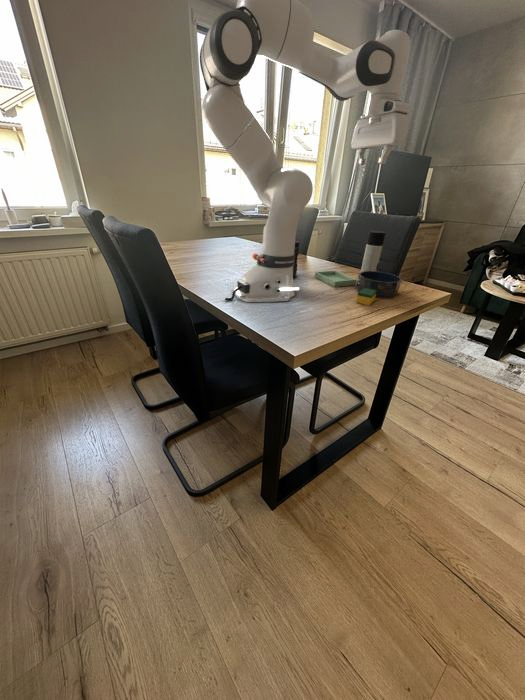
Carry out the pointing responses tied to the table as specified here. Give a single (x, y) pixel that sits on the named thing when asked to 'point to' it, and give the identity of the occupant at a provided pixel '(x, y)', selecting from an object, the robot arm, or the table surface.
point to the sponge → (366, 296)
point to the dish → (335, 278)
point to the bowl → (379, 283)
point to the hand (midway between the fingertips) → (371, 164)
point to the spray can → (373, 251)
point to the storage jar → (296, 252)
